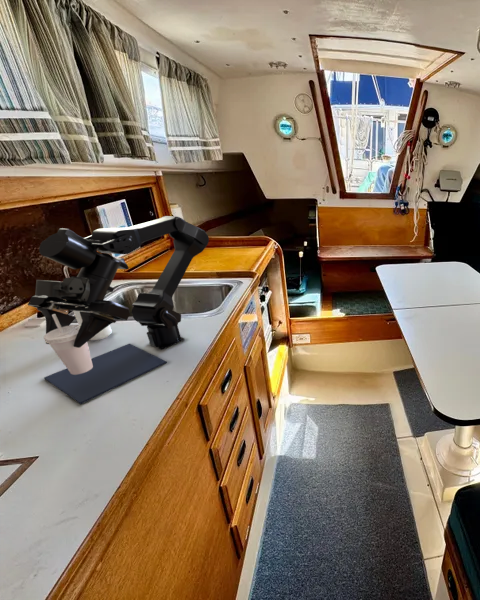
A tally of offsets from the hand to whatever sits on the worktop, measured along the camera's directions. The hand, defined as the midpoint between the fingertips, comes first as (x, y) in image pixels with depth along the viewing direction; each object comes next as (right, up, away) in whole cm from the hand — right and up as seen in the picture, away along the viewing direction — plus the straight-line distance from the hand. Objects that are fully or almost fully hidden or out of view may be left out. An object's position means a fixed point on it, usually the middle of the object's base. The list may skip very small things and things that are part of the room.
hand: (62, 345), depth 67 cm
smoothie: (0, -6, +4) cm, 7 cm away
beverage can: (-19, -2, +28) cm, 34 cm away
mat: (-3, -8, +14) cm, 16 cm away
